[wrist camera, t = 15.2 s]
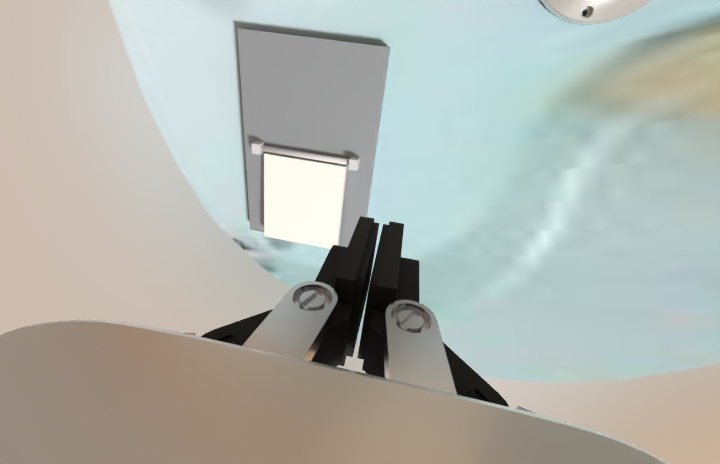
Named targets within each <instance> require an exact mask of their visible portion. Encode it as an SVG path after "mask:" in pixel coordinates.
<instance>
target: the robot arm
mask: <svg viewBox="0 0 720 464" xmlns="http://www.w3.org/2000/svg"><path fill="white" fill-rule="evenodd" d="M650 1H651V0H541V2H542V3H543V4H544V6H545V7H546V8H547V9H548V10H549V11H550V12H551V13H553V14H554V15H555V16H557V17H558V18H561V19H563V20H565V21H567V22H571V23H577V24H598V23H602V22H607V21H611V20H614V19H617V18H620V17H623V16H626V15H627V14H629V13H631V12H633V11H635V10H637V9H639V8H641V7H642V6H644V5H645V4H647V3H648V2H650ZM583 10H585V11H586V14H585V16H584V17H583V16H582V11H583ZM378 227H379V223H374V219H373V218H367V217H362V216H360V218H359V220H358V223H357V225H356V228H355V230H354V233H353V235H352V238H351V240H350V243H349V245H348V247H344V246H338V245H333V246H332V248H331V250H330V252H329V254H328V256H327V258H326V260H325V262H324V264H323V266H322V268H321V270H320V272H319V274H318V276H317V278H316V280H315V281H308V282H303V283H300V284H298V285H295V286H294V287H293V288H292V289H290V291H289V292H288V293H287V294H286V295H285V296H284V297H283V299H282V300H281V301H280V302H279V303H278V304H277V306H276V307H275V308H274V309H272V310H269V311H266V312H264V313H261V314H258V315H255V316H252V317H249V318H247V319H243V320H241V321H238V322H235V323H232V324H229V325H226V326H223V327H220V328H217V329H215V330H212V331H210V332H208V333H206V334H204V335H203V336H201V337H199V336H196V334H195V333H180V332H175V331H170V330H165V329H159V328H153V327H148V326H142V325H137V324H131V323H125V322H115V321H106V320H71V321H59V322H49V323H42V324H36V325H31V326H27V327H22V328H19V329H16V330H13V331H10V332H7V333H4V334H2V335H0V464H670V463H668V462H666V461H664V460H663V459H661V458H659V457H657V456H655V455H653V454H651V453H650V452H648V451H646V450H644V449H641V448H639V447H637V446H634V445H632V444H630V443H627V442H625V441H623V440H620V439H618V438H616V437H613V436H610V435H607V434H604V433H601V432H598V431H596V430H592V429H590V428H587V427H584V426H580V425H577V424H573V423H569V422H565V421H562V420H558V419H554V418H551V417H547V416H543V415H540V414H536V413H533V412H531V411H529V410H526V409H524V408H522V407H519V406H518V407H517V409H515V408H511V407H509V406H508V404H507V402H506V401H505V400H504V399H503V398H502V397H501V396H500V395H499V393H498V392H496V391H495V390H494V389H493V388H492V387H491V386H490V385H489V384H488V383H487V382H486V381H485V380H483V379H482V378H481V377H480V376H479V375H478V374H477V373H476V372H475V371H474V370H473V369H471V368H470V367H469V366H468V365H467V364H466V363H465V362H464V361H463V360H462V359H461V358H459V357H458V356H457V355H456V354H455V353H454V352H453V351H452V350H451V349H450V348H449V347H447V346H446V345H445V344H444V343H443V341H442V337H441V334H440V330H439V326H438V323H437V319H436V317H435V315H434V314H433V312H432V311H431V310H430V309H429V308H427V307H426V306H424V305H423V304H421V303H419V261H418V260H413V259H407V258H402V257H401V248H402V238H403V228H404V224H401V223H395V222H390V223H389V225H385V224H383V228H382V233H381V237H380V241H379V246H378V250H377V254H376V259H375V263H374V268H373V272H372V276H371V270H372V264H373V258H374V252H375V246H376V240H377V234H378ZM370 277H371V281H370ZM369 283H370V286H369ZM368 288H369V291H368ZM367 292H368V297H367V303H366V310H365V316H364V322H363V328H362V334H361V340H360V347H359V352H358V358H360V359H364V362H363V369H362V370H364V371H365V372H366V373H367V374H365V373H361V372H356V371H352V370H348V369H343V368H339V367H336V366H338V365H341V366H344V363H345V359H346V356H351V357H352V356H353V353H354V348H355V344H356V340H357V335H358V331H359V327H360V322H361V318H362V314H363V309H364V305H365V301H366V296H367Z"/></svg>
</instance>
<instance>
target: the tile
mask: <svg viewBox="0 0 720 464" xmlns="http://www.w3.org/2000/svg"><path fill="white" fill-rule="evenodd" d="M346 173H347V165H342V164H336V163H330V162H323V161H317V160H311V159H305V158H299V157H293V156H287V155H281V154H274V153H268V152H267V153H265V154H264V236H266V237H271V238H276V239H281V240H287V241H292V242H297V243H303V244H308V245H313V246H318V247H324V248H329V249H331V248H332V246H333V245H339V236H340V227H341V218H342V209H343V200H344V191H345V182H346Z"/></svg>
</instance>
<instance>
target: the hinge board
mask: <svg viewBox="0 0 720 464" xmlns="http://www.w3.org/2000/svg"><path fill="white" fill-rule="evenodd" d="M237 32H238V47H239V63H240V78H241V94H242V109H243V125H244V140H245V156H246V171H247V187H248V202H249V217H250V229H251V230H256V231H262V232H264V154H265V153H267V152H268V153H274V154H281V155H287V156H293V157H299V158H305V159H311V160H317V161H323V162H330V163H336V164H342V165H347V173H346V182H345V191H344V200H343V209H342V218H341V227H340V236H339V245H338V246H344V247H348V245H349V243H350V240H351V238H352V235H353V233H354V230H355V228H356V225H357V223H358V220H359V218H360V216H362V217H367V211H368V203H369V196H370V189H371V182H372V175H373V167H374V160H375V153H376V146H377V139H378V131H379V124H380V117H381V110H382V103H383V96H384V88H385V81H386V74H387V67H388V60H389V52H390V48H389V47H384V46H376V45H368V44H360V43H352V42H344V41H336V40H328V39H320V38H312V37H304V36H296V35H288V34H280V33H272V32H264V31H256V30H249V29H241V28H237Z"/></svg>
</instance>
